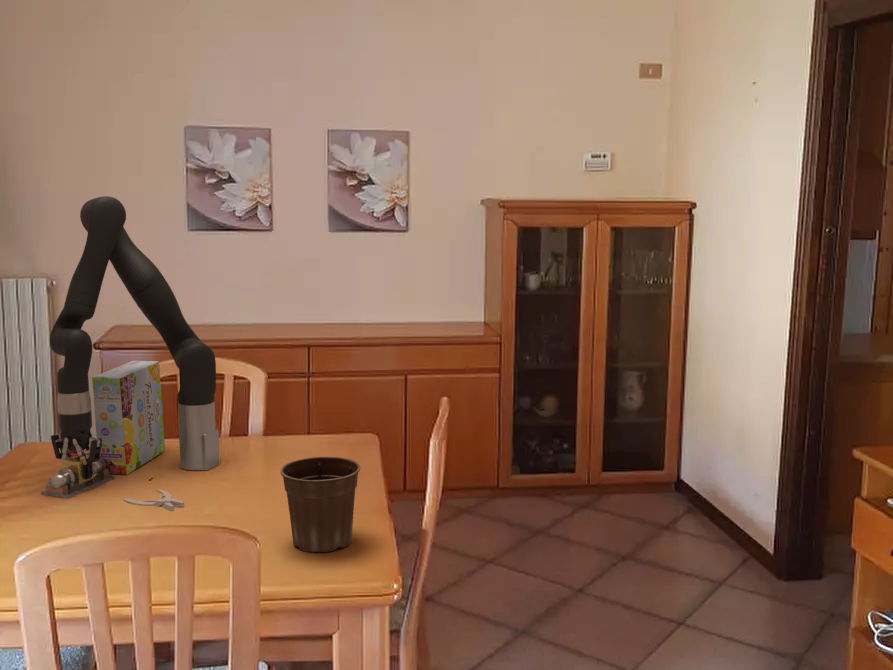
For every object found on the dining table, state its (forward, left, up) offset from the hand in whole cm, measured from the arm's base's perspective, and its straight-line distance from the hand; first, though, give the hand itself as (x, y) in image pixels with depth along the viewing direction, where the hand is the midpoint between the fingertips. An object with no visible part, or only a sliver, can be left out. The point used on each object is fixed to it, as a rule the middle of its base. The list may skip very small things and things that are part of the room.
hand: (78, 477), depth 225 cm
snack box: (+1, -21, -3) cm, 21 cm away
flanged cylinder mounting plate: (0, 0, -2) cm, 2 cm away
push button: (0, 0, -1) cm, 1 cm away
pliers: (-25, +2, -3) cm, 26 cm away
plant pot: (-72, +10, -3) cm, 73 cm away
